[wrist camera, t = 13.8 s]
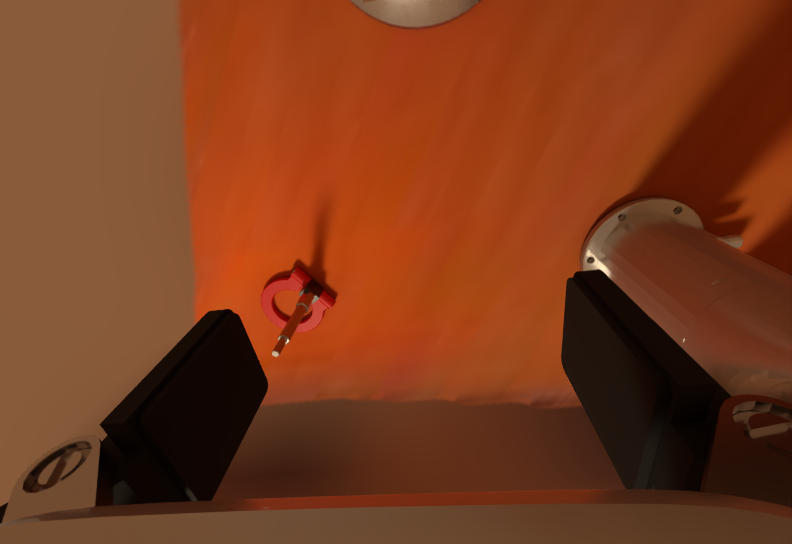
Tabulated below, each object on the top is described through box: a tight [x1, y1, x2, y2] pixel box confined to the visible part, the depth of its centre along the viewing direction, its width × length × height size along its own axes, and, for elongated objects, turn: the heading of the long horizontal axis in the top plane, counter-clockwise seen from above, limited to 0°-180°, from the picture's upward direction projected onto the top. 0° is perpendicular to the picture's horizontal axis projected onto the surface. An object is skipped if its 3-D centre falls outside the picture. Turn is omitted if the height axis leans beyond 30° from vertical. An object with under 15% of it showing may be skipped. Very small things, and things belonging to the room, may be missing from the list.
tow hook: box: [261, 267, 336, 357], centre depth 41 cm, size 8×13×9 cm
